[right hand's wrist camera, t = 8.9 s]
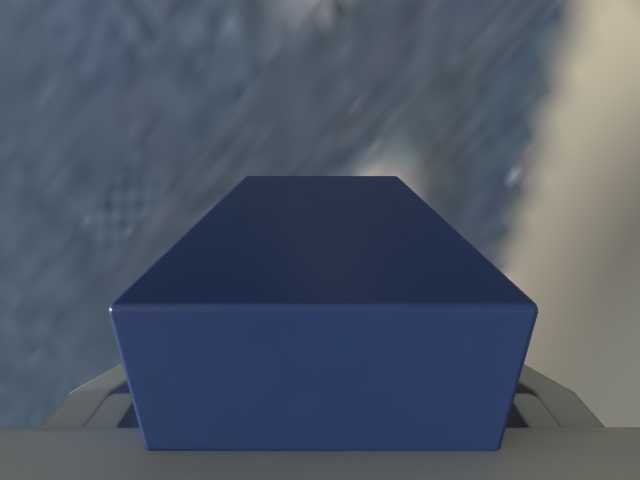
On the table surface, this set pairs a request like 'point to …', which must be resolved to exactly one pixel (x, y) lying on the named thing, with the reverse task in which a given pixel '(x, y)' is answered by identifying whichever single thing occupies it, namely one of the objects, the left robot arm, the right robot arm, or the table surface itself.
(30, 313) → the table surface
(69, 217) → the table surface
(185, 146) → the table surface
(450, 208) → the table surface
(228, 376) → the bar
